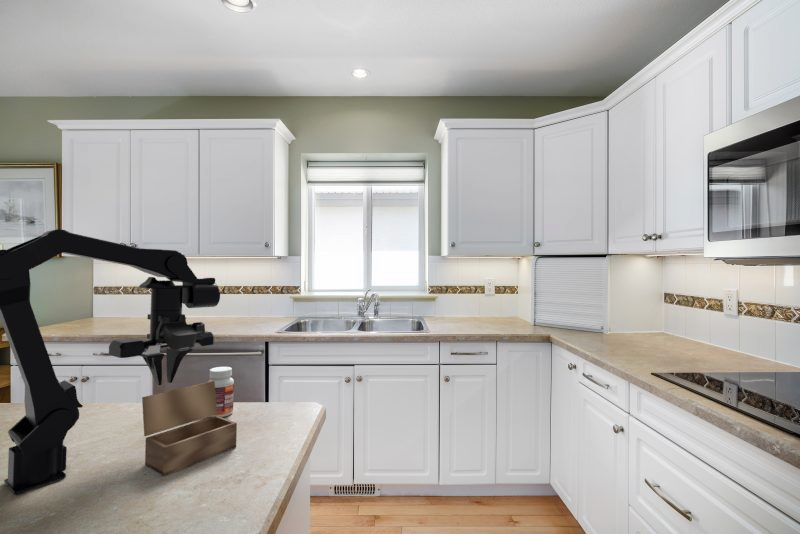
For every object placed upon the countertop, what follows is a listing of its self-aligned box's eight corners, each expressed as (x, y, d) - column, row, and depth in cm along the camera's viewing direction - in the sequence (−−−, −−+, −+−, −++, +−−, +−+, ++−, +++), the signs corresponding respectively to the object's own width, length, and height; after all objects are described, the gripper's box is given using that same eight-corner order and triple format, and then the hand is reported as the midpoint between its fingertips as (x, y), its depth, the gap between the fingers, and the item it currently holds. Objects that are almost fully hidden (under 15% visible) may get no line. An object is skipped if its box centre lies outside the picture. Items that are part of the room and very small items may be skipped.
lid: (143, 397, 73) (141, 397, 73) (145, 436, 72) (143, 435, 73) (214, 380, 85) (212, 380, 85) (216, 414, 84) (215, 414, 84)
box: (164, 476, 68) (165, 447, 68) (144, 465, 72) (145, 437, 72) (236, 447, 80) (236, 422, 80) (216, 438, 84) (216, 415, 84)
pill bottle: (229, 418, 96) (230, 371, 96) (202, 418, 95) (203, 372, 95) (236, 409, 102) (237, 365, 102) (211, 410, 101) (212, 366, 101)
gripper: (135, 316, 71) (132, 403, 70) (229, 309, 86) (227, 380, 86) (108, 311, 77) (106, 391, 76) (201, 306, 92) (199, 372, 92)
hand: (164, 383), depth 83 cm, fingers closed
